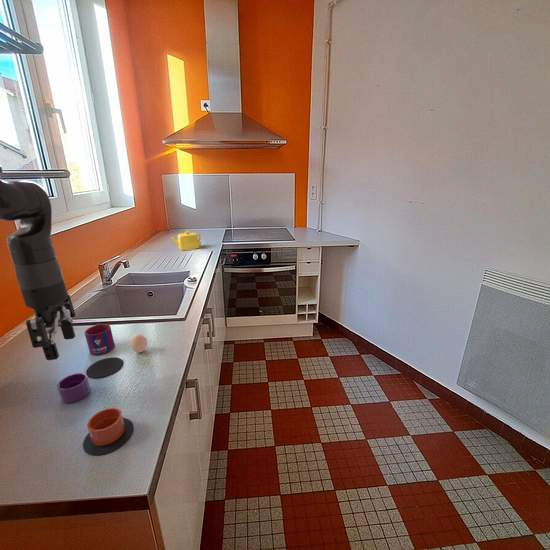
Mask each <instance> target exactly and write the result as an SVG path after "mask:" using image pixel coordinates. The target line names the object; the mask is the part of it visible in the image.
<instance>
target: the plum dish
mask: <svg viewBox="0 0 550 550" xmlns="http://www.w3.org/2000/svg"><path fill="white" fill-rule="evenodd" d="M56 388H57V392H58V395H59V398H60V401H62V402H63V403H67V404H68V403H69V404H70V403H75V402H78V401H80V400H82V399H84V398H86V397H87V395H88V394H89V393H90V392H91V385H90V382H89V377H88V376H87V375H86V373H84V372H77V373H72V374H70V375H67V376H65V377H64V378H62V379H61V380H60V381H58V383H57V384H56Z"/></svg>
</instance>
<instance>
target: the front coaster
mask: <svg viewBox="0 0 550 550" xmlns="http://www.w3.org/2000/svg"><path fill="white" fill-rule="evenodd" d="M123 420H124V424H125V430H124V433H123V434H122V435H121V436H120V438H118V439H117V440H116V441H114V442H113V443H111V444H108V445H104V446H97V445H94V444H93V443H92V441H91V438H90V434H89V432H88V433H87V434H86V436H85V438H84V439H83V442H82V448H83V450H84V452H85V453H86V454H88V455H89V456H95V457H98V456H104V455H108V454H110V453H112V452H115V451H117V450H119V449H120V448H121V447H122V446H124V445H125V444H126V443H127V442H128V441H129V440H130V438H131V437H132V435H133V433H134V424H133V421H131V419H129V418H126V417H123Z"/></svg>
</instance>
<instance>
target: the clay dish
mask: <svg viewBox="0 0 550 550" xmlns="http://www.w3.org/2000/svg"><path fill="white" fill-rule="evenodd" d="M123 418H124V416H123V412H122V410H121V409H119V408H118V407H108V408H104V409H102V410H99V411H98V412H96V413H95V414H93V415H92V416H91V417H90V418H89V420H88V422H87V424H86V426H87V431H88V433H89V434H90V438H91V441H92V443H93V444H94V445H97V446H104V445H108V444H111V443H113V442H114V441H116V440H117V439H118V438H120V436H121V435H122V434H123V433H124V430H125V424H124V420H123Z"/></svg>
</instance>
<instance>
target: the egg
mask: <svg viewBox="0 0 550 550" xmlns="http://www.w3.org/2000/svg"><path fill="white" fill-rule="evenodd" d="M147 347H148V341H147V338H146V337H145V336H144V335H143V334H140V333H137V334H135V335H133V337H132V338H131V340H130V348H131V350H132V351H133V352H134V353H136V354H137V353H138V354H139V353H143V352H144V351H145V350H146V349H147Z"/></svg>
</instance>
